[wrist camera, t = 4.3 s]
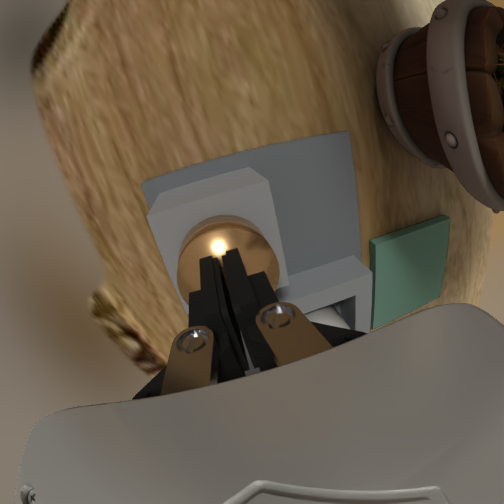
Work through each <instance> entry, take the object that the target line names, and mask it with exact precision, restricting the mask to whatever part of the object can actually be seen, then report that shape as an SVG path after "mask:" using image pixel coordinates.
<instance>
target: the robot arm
mask: <svg viewBox="0 0 504 504" xmlns="http://www.w3.org/2000/svg"><path fill="white" fill-rule="evenodd" d="M225 252H226V255H223V256H221V257H222V262H223V267H224V271H225V276H226V281H227V284H226V281H225V278H224V275H223V272H222V269H221V266H220V263H219V260H218V257H216V258H213V257H212V255H211V256H207V257H204V258H201V259H199V267H200V287H201V290H197V291H194V292H190V293H189V328H187V329H185V330H183V331H182V332H180V333H179V334H178V335H177V336H176V337H175V338H174V340H173V343H172V346H171V350H170V354H169V359H168V363H167V365H166V366H165V367H164V368H163V369H162V370H161V371H160V372H159V373H158V374H157V375H156V376H155V377H154V378H153V379H152V380H151V381H150V382H149V383H148V384H147V385H146V386H145V387H144V388H143V389H142V390H140V392H138V393H137V394H136V395H135V397H134V398H133V399H132V400H128V401H120V402H111V403H103V404H95V405H87V406H78V407H73V408H68V409H64V410H61V411H57V412H54V413H52V414H50V415H48V416H46V417H44V418H42V419H41V420H39V421H38V422H37V423H36V424H35V425H34V426H33V428H32V430H31V431H30V434H29V436H28V439H27V441H26V444H25V448H24V451H23V455H22V459H21V463H20V468H19V473H18V478H17V484H16V493H15V502H14V504H504V325H503V324H502V323H500V322H499V321H498V320H497V319H495V318H494V317H493V316H491V315H490V314H489V313H487V312H485V311H484V310H482V309H480V308H479V307H476V306H474V305H471V304H467V303H452V304H446V305H439V306H436V307H432V308H428V309H425V310H422V311H419V312H417V313H414V314H411V315H409V316H407V317H405V318H402V319H400V320H398V321H396V322H393V323H391V324H389V325H386V326H384V327H381V328H379V329H377V330H375V331H372V332H370V333H364V332H361V331H356V330H351V329H345V328H340V327H335V326H330V325H326V324H321V323H316V322H311V321H309V320H308V318H307V317H306V316H305V315H304V314H303V313H302V312H301V310H300V309H299V308H298V307H297V306H295V305H294V304H291V303H289V302H279V300H278V298H277V296H276V294H275V292H274V290H273V288H272V286H271V284H270V282H269V280H268V278H267V275H266V273H265V272H264V271H262V272H259V273H255V274H252V275H249V276H248V275H247V273H246V270H245V267H244V264H243V261H242V259H241V256H240V253H239V250H238V248H234V249H231V250H228V251H225ZM227 285H228V287H227ZM240 331H241V332H240ZM241 334H242V336H241ZM242 337H243V339H244V342H245V345H246V348H247V351H248V353H249V356H250V359H251V362H252V364H253V367H254V369H255V368H259V369H260V371H261V372H258V373H255V374H251V375H248V376H246V374H245V371H248V370H250V368H249V364H248V360H247V356H246V352H245V348H244V344H243V340H242Z"/></svg>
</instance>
